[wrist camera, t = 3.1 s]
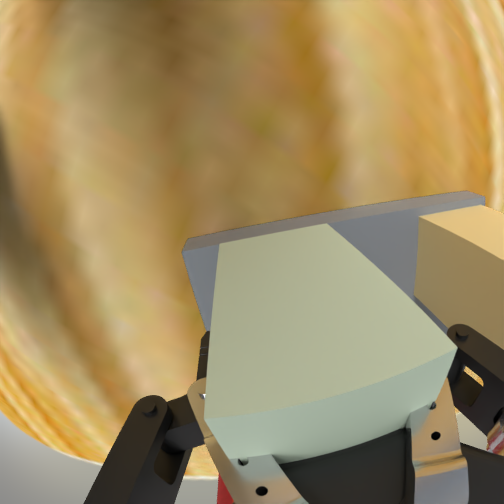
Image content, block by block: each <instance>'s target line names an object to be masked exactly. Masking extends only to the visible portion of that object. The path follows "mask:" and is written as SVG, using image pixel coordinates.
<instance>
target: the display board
mask: <svg viewBox="0 0 504 504" xmlns="http://www.w3.org/2000/svg"><path fill="white" fill-rule="evenodd" d="M477 205H483V206H485V196H482V195H479V194H475V193H472V192H469V191H460V192H453V193H445V194H438V195H431V196H424V197H417V198H410V199H404V200H397V201H391V202H384V203H378V204H372V205H365V206H359V207H353V208H347V209H341V210H335V211H330V212H324V213H318V214H312V215H307V216H301V217H296V218H290V219H285V220H279V221H274V222H269V223H264V224H258V225H253V226H248V227H243V228H238V229H233V230H228V231H223V232H218V233H213V234H208V235H203V236H198V237H193V238H189V239H188V240H187V242H186V244H185V246H184V248H183V250H182V255H183V258H184V262H185V265H186V269H187V272H188V275H189V279H190V282H191V285H192V288H193V292H194V295H195V298H196V301H197V304H198V307H199V310H200V313H201V316H202V319H203V322H204V325H205V328H206V331H210V329H211V318H212V308H213V298H214V288H215V279H216V270H217V261H218V252H219V244H221V243H226V242H231V241H236V240H241V239H246V238H251V237H257V236H262V235H267V234H272V233H277V232H283V231H288V230H293V229H299V228H304V227H309V226H315V225H320V224H326V223H327V224H328V225H329V226H330V227H332V228H333V229H334V230H335V231H336V232H338V233H339V234H340V235H341V236H342V237H344V238H345V239H346V240H347V241H348V242H349V243H350V244H352V245H353V246H354V247H355V248H356V249H357V250H359V251H360V252H361V253H362V254H363V255H364V256H365V257H366V258H368V259H369V260H370V261H371V262H372V263H373V264H374V265H375V266H376V267H377V268H379V269H380V270H381V271H382V272H383V273H384V274H385V275H386V276H387V277H388V278H389V279H390V280H392V281H393V282H394V283H395V284H396V285H397V286H398V287H399V288H400V289H401V290H402V291H403V292H404V293H405V294H406V295H407V296H408V297H409V298H410V299H411V300H412V301H413V302H414V303H415V304H416V305H417V306H418V307H419V308H420V309H421V310H422V311H423V312H424V313H425V314H426V315H427V316H428V317H429V318H430V319H431V320H432V321H433V322H434V323H435V324H436V325H437V326H438V327H439V328H440V329H441V330H442V331H443V332H444V333H445V334H447V330H448V328H447V327H446V326H445V325H444V324H443V323H442V322H441V321H440V320H439V319H438V318H437V317H436V316H435V315H434V314H433V313H432V312H431V311H430V310H429V309H428V308H427V307H426V306H425V305H424V304H423V303H422V302H421V301H420V300H419V299H417V298H416V297H415V296H414V287H415V277H416V266H417V251H418V224H419V216H423V215H428V214H434V213H439V212H444V211H450V210H455V209H461V208H466V207H471V206H477Z"/></svg>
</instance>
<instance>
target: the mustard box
mask: <svg viewBox="0 0 504 504" xmlns="http://www.w3.org/2000/svg"><path fill="white" fill-rule="evenodd" d="M414 296H415V297H416V298H417V299H419V300H420V301H421V302H422V303H423V304H424V305H425V306H426V307H427V308H428V309H429V310H430V311H431V312H432V313H433V314H434V315H435V316H436V317H437V318H438V319H439V320H440V321H441V322H442V323H443V324H444V325H445V326H446V327H447V328H448V329H449V328H450V327H451V326H452V325H455V324H465V325H468V326H470V327H471V328H473V329H474V330H476V331H477V332H479V333H480V334H482V335H483V336H485V337H486V338H488V339H489V340H490V341H492V342H493V343H495V344H496V345H498V346H499V347H500V348H502V349H503V350H504V213H502V212H499V211H496V210H494V209H491V208H489V207H486V206H483V205H477V206H471V207H466V208H461V209H455V210H450V211H444V212H439V213H434V214H428V215H423V216H419V224H418V251H417V266H416V277H415V287H414Z"/></svg>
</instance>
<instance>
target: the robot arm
mask: <svg viewBox="0 0 504 504" xmlns="http://www.w3.org/2000/svg"><path fill="white" fill-rule="evenodd" d="M446 335H447V336H448V338H449V339H450V340H451V341H452V342H453V343H454V344H455V345H456V346H457V347H458V348H457V351H456V353H455V356H454V359H453V362H452V364H451V367H450V369H449V372H448V374H447V377H446V379H445V381H444V384H443V386H442V388H441V390H440V393H439V395H438V397H437V399H436V400H435V401H433V403H432V405H431V407H430V409H429V408H428V404H427V405H425V406H423V407H421V408H419V409H417V410H415V411H413V412H410V414H409V416H408V419H407V421H406V423H405V425H406V428H404V429H398V430H395V431H393V432H390V433H388V434H385V435H383V436H380V437H378V438H375V439H372V440H369V441H367V442H364V443H361V444H358V445H355V446H352V447H348V448H345V449H342V450H338V451H335V452H331V453H328V454H324V455H320V456H316V457H312V458H307V459H303V460H298V461H293V462H288V463H282V464H279V465H278V464H277V462H276V461H275V460H274V458H273V457H272V455H271V454H268V455H261V456H254V457H247V459H248V461H249V463H248V464H247V465H245V466H244V465H243V463H242V462H241V460H240V458H235V459H229V458H228V457H227V455H226V454H225V452H224V451H223V449H222V448H221V446H220V445H219V443H218V441H217V440H216V438H215V437H214V435H213V433H212V432H211V430H210V428H209V427H208V425H207V423H206V422H205V420H204V408H205V392H206V378H207V365H208V352H209V341H210V331H207V332H206V333H205V335H204V336H203V337H202V339H201V346H200V348H201V349H200V356H199V363H198V371H197V380H196V382H194V383H193V384H192V385H191V386H190V387H189V389H188V392H187V394H186V395H184V396H182V397H180V398H177V399H174V400H171V401H168V402H166V401H165V400H164V399H163V398H162V397H160V396H157V395H150V396H146V397H144V398H142V399H140V400H139V401H138V402H137V403H136V404H135V405H134V407H133V409H132V411H131V413H130V414H129V416H128V418H127V420H126V422H125V424H124V426H123V427H122V429H121V431H120V433H119V435H118V437H117V439H116V441H115V443H114V444H113V446H112V448H111V450H110V452H109V454H108V456H107V458H106V460H105V462H104V464H103V466H102V468H101V470H100V472H99V474H98V476H97V478H96V480H95V482H94V484H93V486H92V488H91V490H90V492H89V494H88V496H87V498H86V500H85V502H84V504H174V503H175V500H176V497H177V494H178V491H179V488H180V485H181V482H182V479H183V476H184V473H185V470H186V467H187V464H188V461H189V458H190V455H191V452H192V449H193V448H194V447H197V446H200V445H203V444H205V445H206V447H207V449H208V451H209V453H210V455H211V458H212V460H213V462H214V464H215V466H216V468H217V470H218V472H219V474H220V476H221V478H222V480H223V482H224V484H225V486H226V487H227V489H228V491H229V493H230V495H231V497H232V498H233V500H234V502H233V503H232V504H504V350H503V349H502V348H500V347H499V346H498V345H496V344H495V343H493V342H492V341H490V340H489V339H488V338H486V337H485V336H483V335H482V334H480V333H479V332H477V331H476V330H474V329H473V328H471V327H470V326H468V325H465V324H455V325H452V326H451V327H450V328H449V329H448V330H447V334H446ZM465 366H467V367H468V368H469V369H471V370H472V371H473V372H474V373H476V374H477V375H478V376H479V377H481V379H482V380H483V384H484V385H483V386H482V385H480V384H479V383H478V382H477V381H475V380H474V379H473V378H472V377H471V376H469V375H468V374H467V373H466V372H464V369H465ZM454 406H455V407H456V408H457V409H458V410H459V411H460V412H461V413H462V414H463V415H465V416H466V417H467V418H468V419H469V420H470V421H471V422H472V423H473V424H474V425H475V426H476V427H477V428H478V429H479V430H481V431H482V432H483V433H484V434H485V435H486V436H487V441H488V444H487V451H485V450H481V449H478V448H475V447H472V446H469V445H466V444H463V443H461V442H460V440H459V433H458V426H457V420H456V414H455V409H454Z"/></svg>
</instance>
